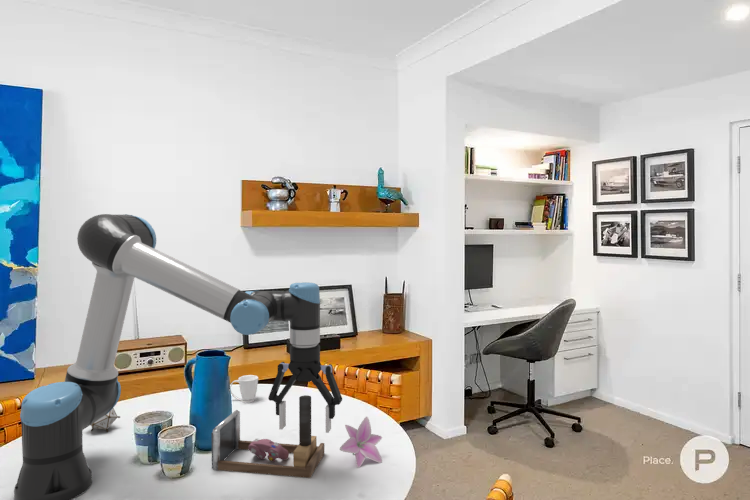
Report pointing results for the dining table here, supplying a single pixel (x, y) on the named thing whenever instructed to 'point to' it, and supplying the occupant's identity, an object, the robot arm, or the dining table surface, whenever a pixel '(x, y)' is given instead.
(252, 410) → the dining table surface
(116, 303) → the robot arm
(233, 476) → the dining table surface
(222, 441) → the grey tablet
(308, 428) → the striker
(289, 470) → the brown flat rectangular frame
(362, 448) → the lily
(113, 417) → the game die
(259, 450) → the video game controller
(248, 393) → the cup
